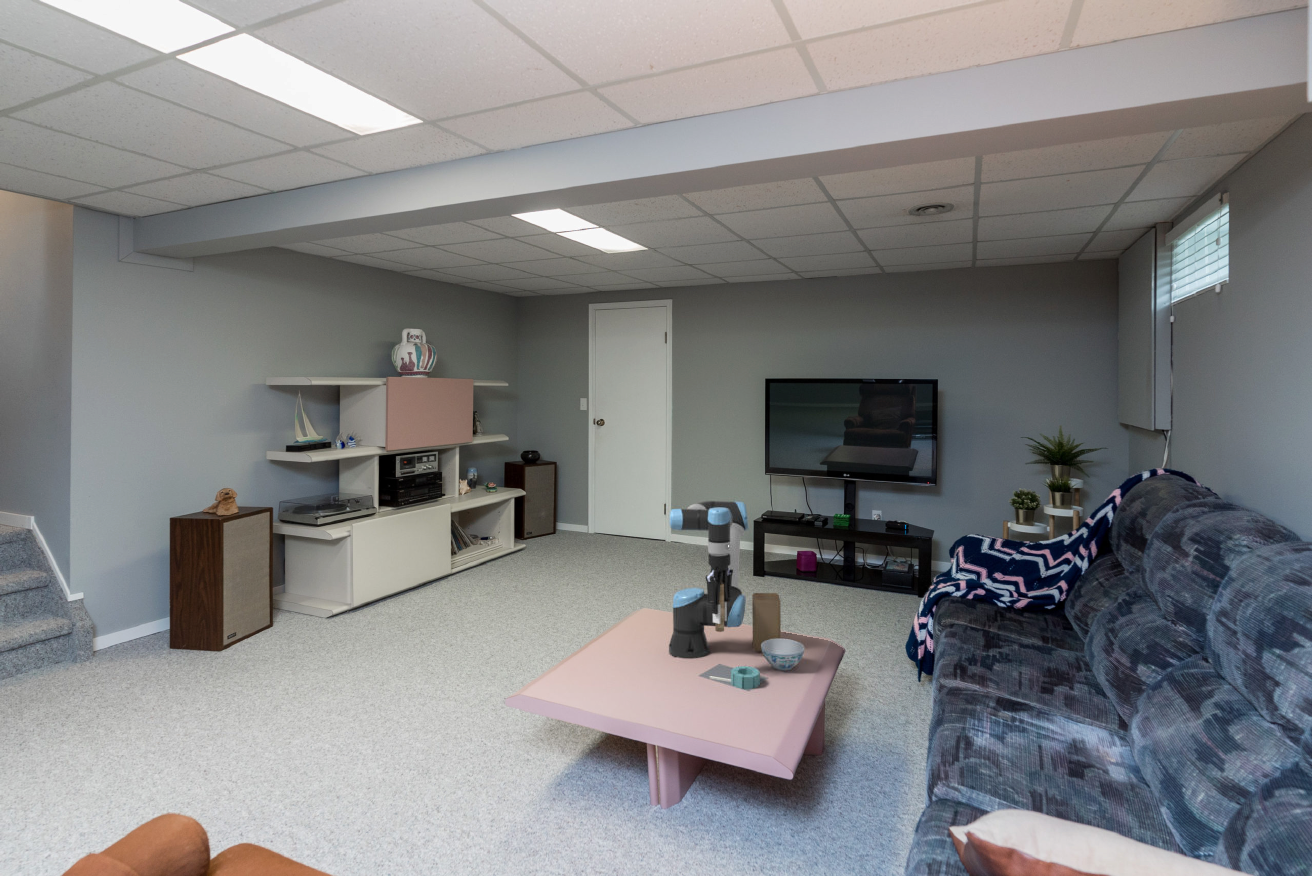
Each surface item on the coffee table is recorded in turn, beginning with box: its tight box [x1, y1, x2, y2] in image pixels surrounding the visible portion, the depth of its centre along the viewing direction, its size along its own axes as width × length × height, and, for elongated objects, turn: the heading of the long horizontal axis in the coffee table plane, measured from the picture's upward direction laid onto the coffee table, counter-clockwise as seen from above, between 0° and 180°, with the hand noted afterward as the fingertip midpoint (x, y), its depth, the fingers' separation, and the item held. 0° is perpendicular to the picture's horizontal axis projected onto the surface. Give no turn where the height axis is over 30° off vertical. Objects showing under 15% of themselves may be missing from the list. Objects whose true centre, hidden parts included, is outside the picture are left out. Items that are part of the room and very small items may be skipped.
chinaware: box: [761, 638, 805, 671], centre depth 241 cm, size 15×15×8 cm
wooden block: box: [751, 592, 782, 653], centre depth 259 cm, size 10×10×20 cm
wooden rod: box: [714, 582, 725, 633], centre depth 234 cm, size 3×3×17 cm
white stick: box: [709, 676, 731, 682], centre depth 230 cm, size 8×1×1 cm, turn 66°
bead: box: [731, 665, 761, 690], centre depth 227 cm, size 9×9×4 cm
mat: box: [698, 663, 769, 692], centre depth 233 cm, size 20×13×1 cm, turn 51°
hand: (719, 621), depth 234 cm, fingers closed on wooden rod, 3 cm apart
